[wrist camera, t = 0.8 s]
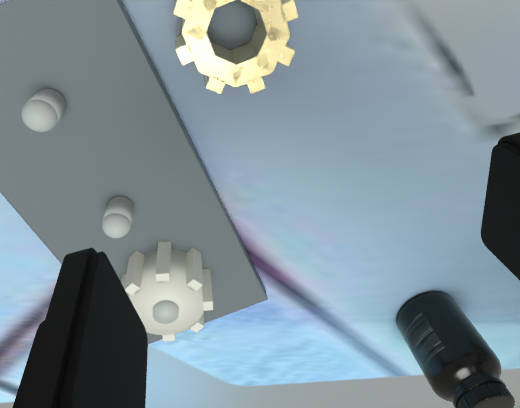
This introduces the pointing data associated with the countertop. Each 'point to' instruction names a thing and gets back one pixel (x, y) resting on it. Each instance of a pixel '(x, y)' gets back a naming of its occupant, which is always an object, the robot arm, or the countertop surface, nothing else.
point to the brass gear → (243, 57)
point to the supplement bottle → (452, 353)
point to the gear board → (114, 164)
